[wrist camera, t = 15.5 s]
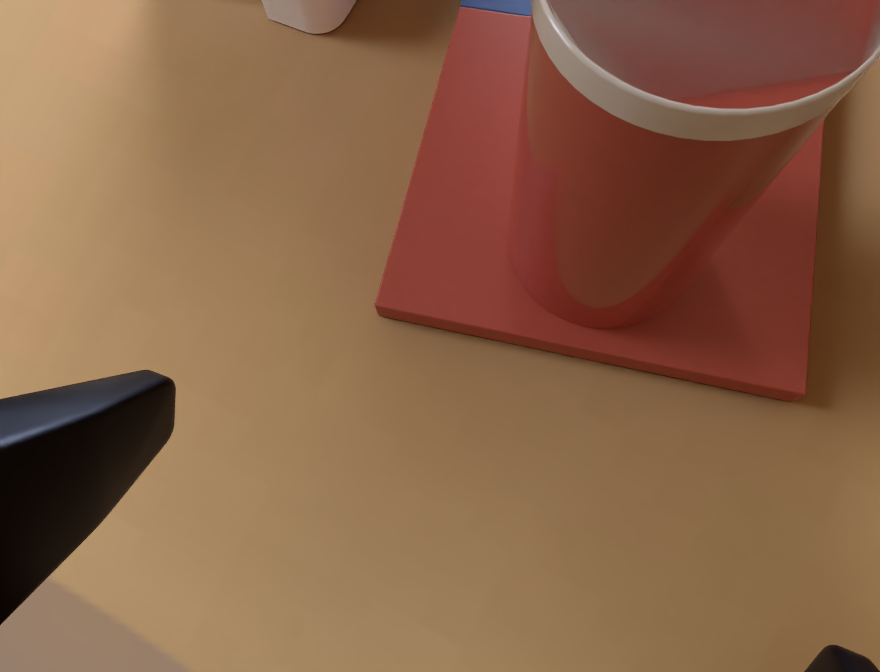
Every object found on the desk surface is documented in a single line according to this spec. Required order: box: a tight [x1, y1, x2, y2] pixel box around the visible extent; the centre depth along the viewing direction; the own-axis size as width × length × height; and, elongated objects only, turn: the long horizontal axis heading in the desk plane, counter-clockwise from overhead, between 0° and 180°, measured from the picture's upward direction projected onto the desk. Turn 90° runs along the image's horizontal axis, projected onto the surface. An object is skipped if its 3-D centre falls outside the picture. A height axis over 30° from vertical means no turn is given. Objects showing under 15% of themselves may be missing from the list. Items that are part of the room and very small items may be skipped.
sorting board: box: [375, 0, 824, 402], centre depth 25 cm, size 26×14×1 cm, turn 167°
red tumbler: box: [507, 0, 880, 329], centre depth 17 cm, size 6×6×11 cm
